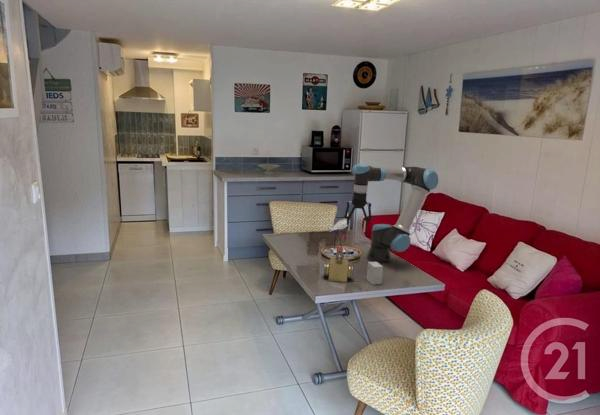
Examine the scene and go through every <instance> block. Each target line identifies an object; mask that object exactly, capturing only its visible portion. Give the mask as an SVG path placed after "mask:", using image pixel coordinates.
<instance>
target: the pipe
mask: <svg viewBox="0 0 600 415" xmlns="http://www.w3.org/2000/svg"><path fill="white" fill-rule="evenodd" d="M327 263H328V262H324V266H323V277H327V276H326V266H327ZM353 276H354V265H353V264H351V276H350V278H349V280H353V279H354V278H353Z"/></svg>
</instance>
